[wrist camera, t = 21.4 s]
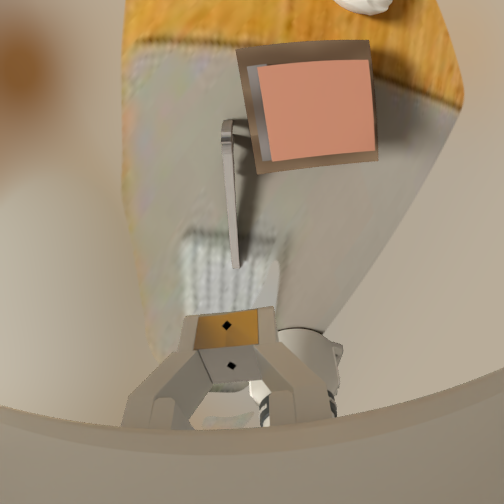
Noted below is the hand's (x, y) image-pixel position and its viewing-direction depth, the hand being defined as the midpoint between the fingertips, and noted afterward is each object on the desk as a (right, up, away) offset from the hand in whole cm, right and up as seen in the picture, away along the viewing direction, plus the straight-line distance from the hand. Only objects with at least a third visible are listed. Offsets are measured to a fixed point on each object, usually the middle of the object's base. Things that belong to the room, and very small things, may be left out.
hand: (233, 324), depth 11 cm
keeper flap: (+6, +14, +13) cm, 21 cm away
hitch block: (+6, +20, +22) cm, 30 cm away
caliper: (-2, +9, +29) cm, 31 cm away
